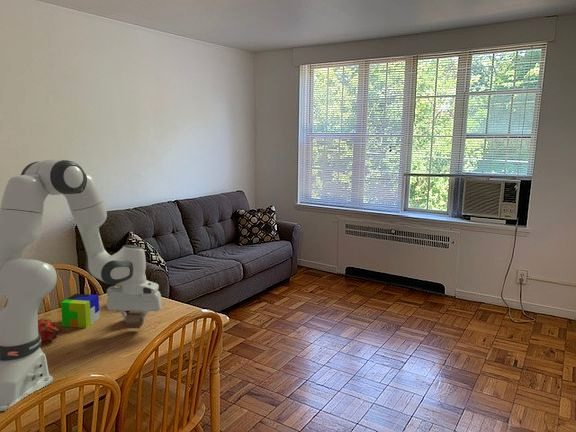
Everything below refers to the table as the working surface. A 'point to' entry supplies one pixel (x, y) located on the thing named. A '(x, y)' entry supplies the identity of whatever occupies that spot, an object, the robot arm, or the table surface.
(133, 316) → the walnut cube
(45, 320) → the dragon fruit
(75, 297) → the puzzle toy
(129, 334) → the table surface
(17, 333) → the robot arm
